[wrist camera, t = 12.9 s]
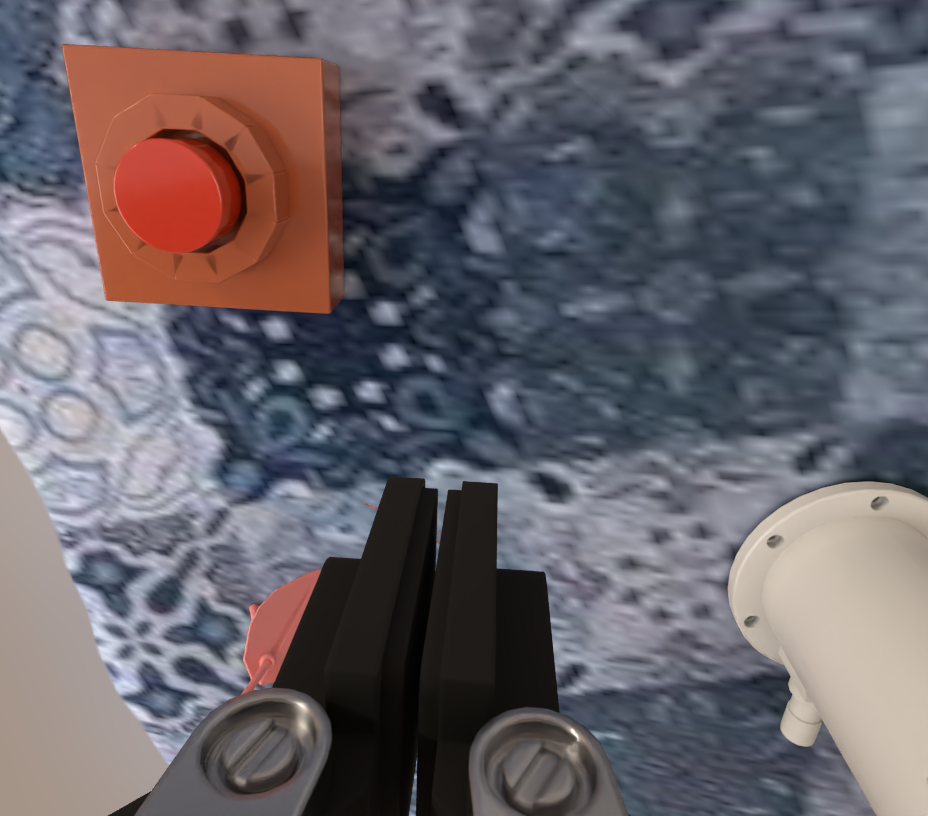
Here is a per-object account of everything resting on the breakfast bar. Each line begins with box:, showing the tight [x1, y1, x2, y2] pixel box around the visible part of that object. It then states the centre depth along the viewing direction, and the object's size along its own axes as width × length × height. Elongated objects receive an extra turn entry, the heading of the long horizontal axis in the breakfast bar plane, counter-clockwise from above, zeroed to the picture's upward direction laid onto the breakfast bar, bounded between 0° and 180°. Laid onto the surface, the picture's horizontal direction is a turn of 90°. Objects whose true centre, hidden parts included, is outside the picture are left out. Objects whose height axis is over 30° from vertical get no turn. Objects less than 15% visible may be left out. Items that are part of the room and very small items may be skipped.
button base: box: [62, 44, 344, 314], centre depth 27 cm, size 10×10×5 cm
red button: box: [113, 137, 241, 253], centre depth 25 cm, size 4×4×2 cm
